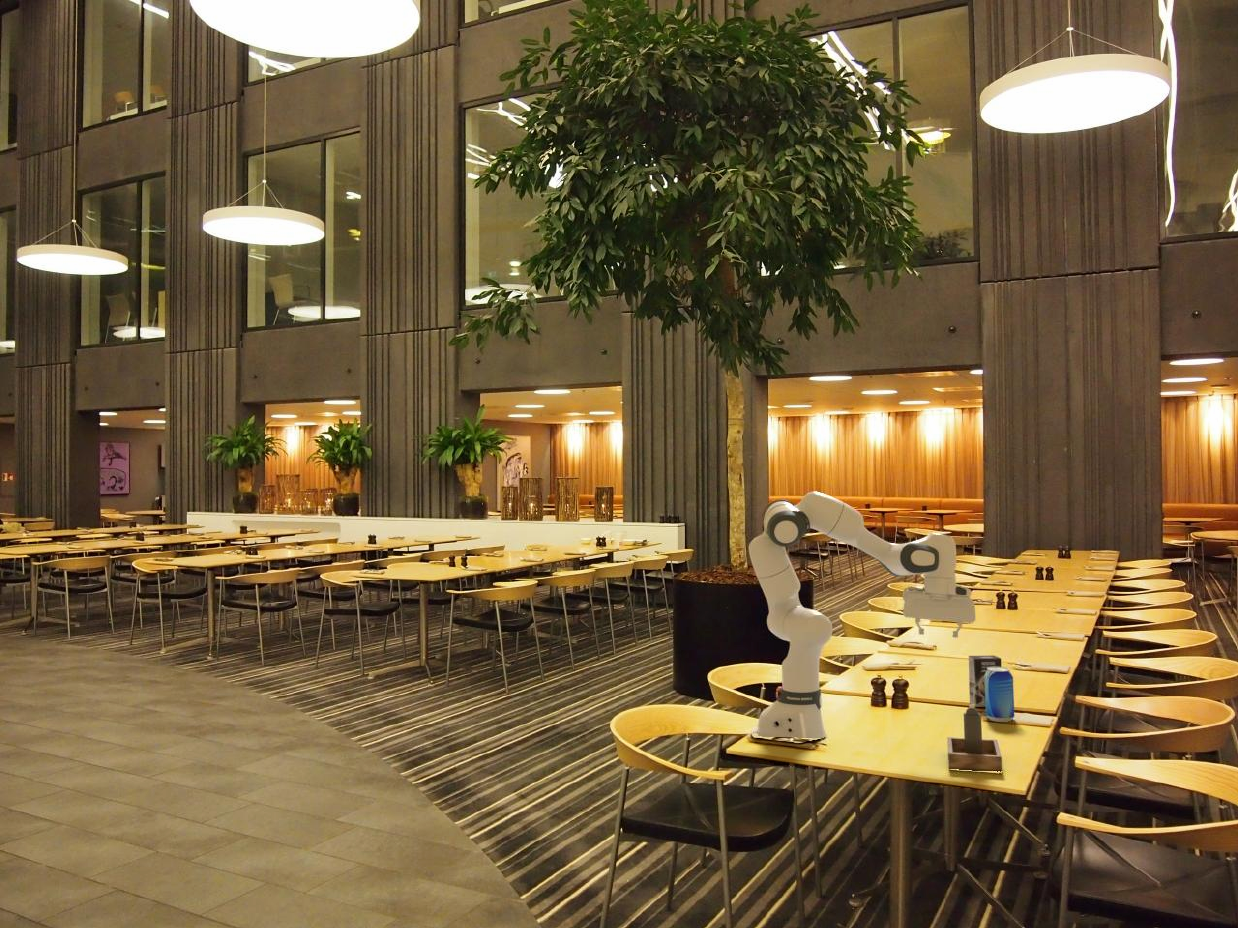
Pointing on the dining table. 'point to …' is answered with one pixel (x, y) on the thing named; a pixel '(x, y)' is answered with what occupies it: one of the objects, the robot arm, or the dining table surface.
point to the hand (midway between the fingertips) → (938, 635)
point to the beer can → (999, 694)
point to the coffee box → (980, 677)
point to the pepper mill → (972, 731)
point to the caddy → (974, 756)
